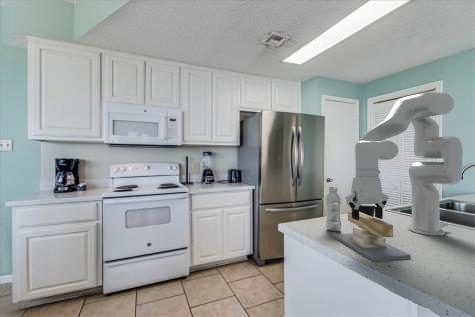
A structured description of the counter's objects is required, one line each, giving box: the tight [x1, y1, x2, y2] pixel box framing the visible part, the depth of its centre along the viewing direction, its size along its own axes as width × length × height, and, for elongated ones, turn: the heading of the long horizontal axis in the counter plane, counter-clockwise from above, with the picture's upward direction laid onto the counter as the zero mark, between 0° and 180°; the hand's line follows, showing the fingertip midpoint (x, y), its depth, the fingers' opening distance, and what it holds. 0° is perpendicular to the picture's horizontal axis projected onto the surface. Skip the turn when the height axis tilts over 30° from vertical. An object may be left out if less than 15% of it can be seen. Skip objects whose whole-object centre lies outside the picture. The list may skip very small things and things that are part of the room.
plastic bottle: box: [325, 186, 343, 232], centre depth 101 cm, size 6×7×20 cm
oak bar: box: [347, 210, 394, 238], centre depth 83 cm, size 4×20×4 cm, turn 3°
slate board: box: [333, 233, 412, 263], centre depth 83 cm, size 14×22×1 cm, turn 8°
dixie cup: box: [358, 204, 376, 218], centre depth 108 cm, size 8×8×11 cm
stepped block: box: [350, 225, 387, 248], centre depth 83 cm, size 9×7×6 cm
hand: (367, 218), depth 83 cm, fingers open, 9 cm apart
